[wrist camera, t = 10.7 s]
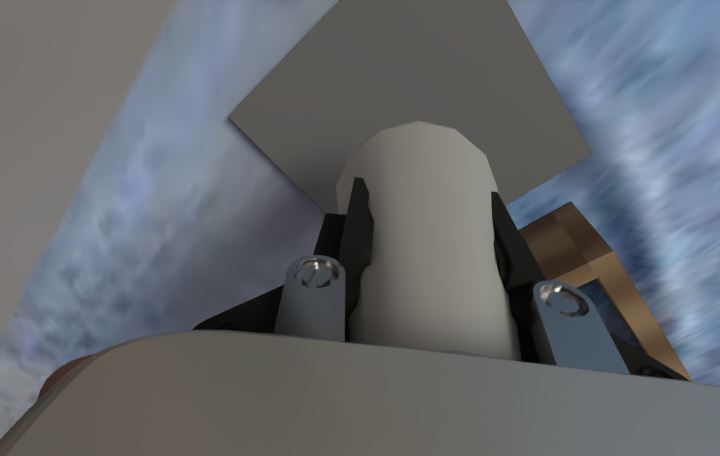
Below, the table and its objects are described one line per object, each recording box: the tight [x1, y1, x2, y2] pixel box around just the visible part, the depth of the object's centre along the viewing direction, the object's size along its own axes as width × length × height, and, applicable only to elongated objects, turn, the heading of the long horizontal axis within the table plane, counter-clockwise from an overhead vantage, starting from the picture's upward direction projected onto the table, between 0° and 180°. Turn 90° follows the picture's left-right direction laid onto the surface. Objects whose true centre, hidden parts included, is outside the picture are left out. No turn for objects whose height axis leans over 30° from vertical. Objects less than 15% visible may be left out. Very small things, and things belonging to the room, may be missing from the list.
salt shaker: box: [336, 120, 522, 361], centre depth 10 cm, size 6×6×13 cm
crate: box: [518, 202, 693, 382], centre depth 26 cm, size 17×17×5 cm
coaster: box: [228, 0, 592, 214], centre depth 20 cm, size 14×14×1 cm
